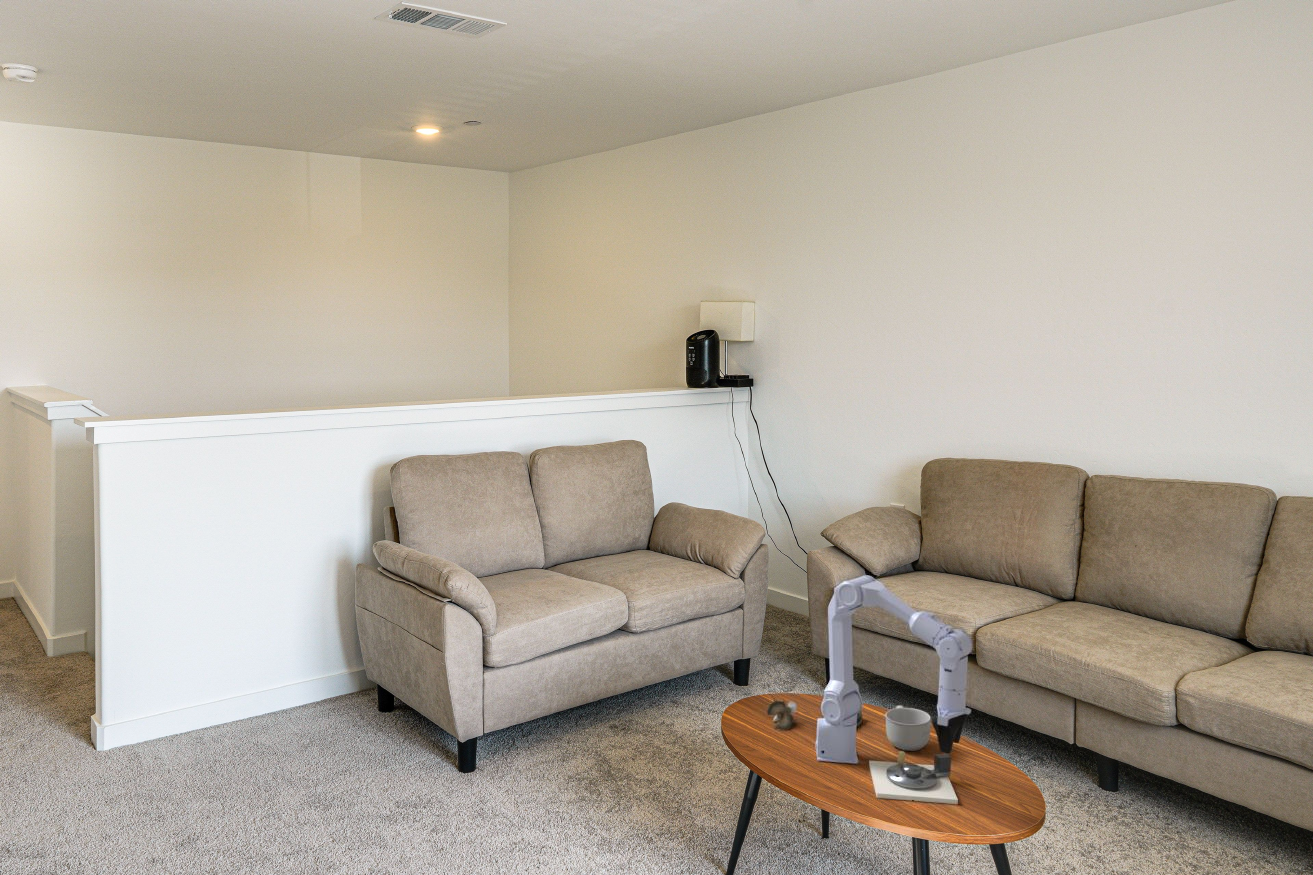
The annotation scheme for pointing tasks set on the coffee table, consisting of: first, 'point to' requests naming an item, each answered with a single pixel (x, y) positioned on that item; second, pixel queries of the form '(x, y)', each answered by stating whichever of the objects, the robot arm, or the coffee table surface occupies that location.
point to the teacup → (907, 728)
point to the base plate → (893, 791)
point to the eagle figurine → (782, 713)
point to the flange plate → (913, 782)
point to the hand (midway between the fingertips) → (949, 747)
